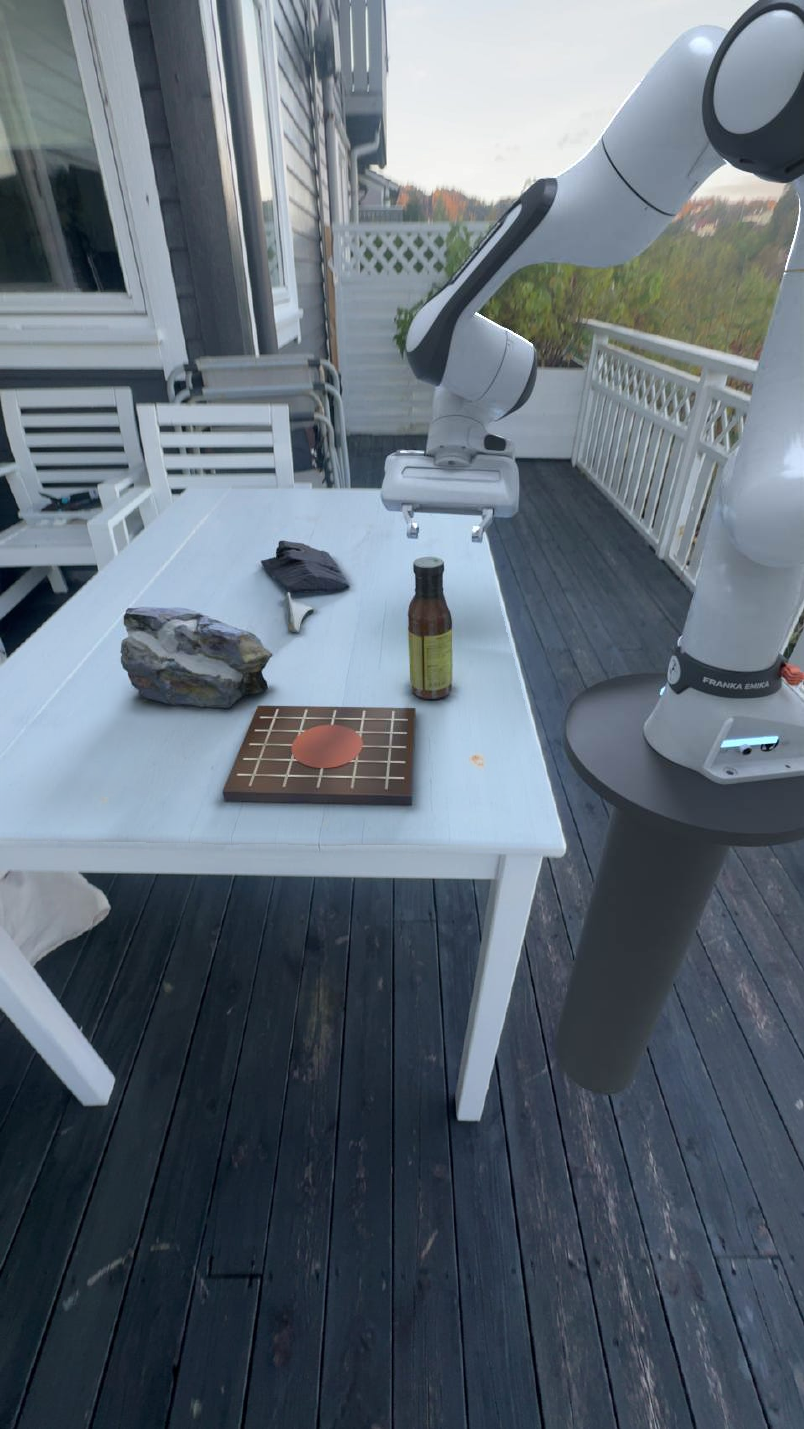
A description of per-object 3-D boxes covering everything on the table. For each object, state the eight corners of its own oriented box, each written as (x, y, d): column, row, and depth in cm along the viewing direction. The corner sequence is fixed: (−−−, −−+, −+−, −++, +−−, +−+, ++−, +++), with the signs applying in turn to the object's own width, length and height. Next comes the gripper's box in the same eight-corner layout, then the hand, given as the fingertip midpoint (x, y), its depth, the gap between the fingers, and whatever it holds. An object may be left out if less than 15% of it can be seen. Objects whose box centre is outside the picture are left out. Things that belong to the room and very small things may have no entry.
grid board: (415, 716, 87) (415, 707, 86) (411, 805, 72) (411, 795, 71) (259, 714, 88) (257, 704, 87) (224, 801, 73) (221, 790, 72)
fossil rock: (274, 705, 96) (278, 624, 87) (247, 744, 89) (249, 661, 79) (152, 667, 98) (144, 583, 88) (117, 703, 91) (103, 616, 81)
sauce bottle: (457, 684, 94) (464, 557, 83) (442, 705, 89) (447, 573, 78) (417, 675, 96) (418, 550, 85) (401, 695, 92) (399, 566, 80)
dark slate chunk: (277, 602, 118) (274, 579, 116) (259, 563, 136) (256, 541, 133) (355, 591, 123) (353, 568, 120) (328, 554, 140) (326, 533, 137)
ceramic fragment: (284, 601, 119) (281, 582, 117) (311, 599, 120) (309, 580, 117) (287, 636, 108) (284, 616, 106) (317, 633, 109) (315, 613, 106)
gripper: (383, 437, 91) (370, 524, 89) (525, 441, 88) (515, 532, 86) (390, 462, 97) (378, 544, 95) (523, 467, 94) (513, 553, 92)
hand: (444, 539), depth 90 cm, fingers open, 8 cm apart
